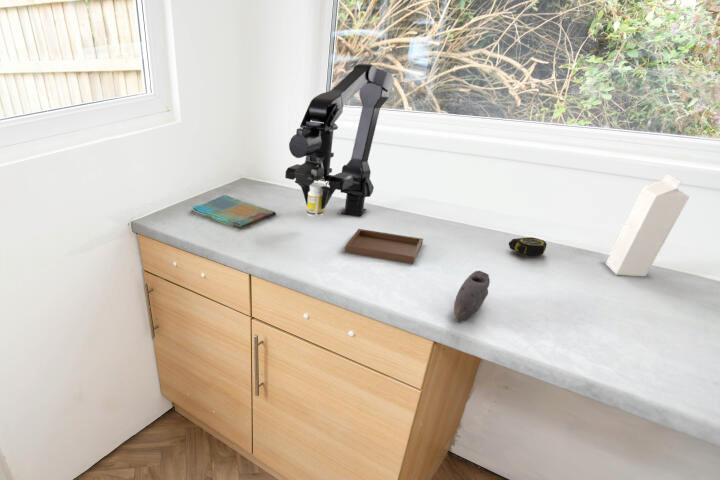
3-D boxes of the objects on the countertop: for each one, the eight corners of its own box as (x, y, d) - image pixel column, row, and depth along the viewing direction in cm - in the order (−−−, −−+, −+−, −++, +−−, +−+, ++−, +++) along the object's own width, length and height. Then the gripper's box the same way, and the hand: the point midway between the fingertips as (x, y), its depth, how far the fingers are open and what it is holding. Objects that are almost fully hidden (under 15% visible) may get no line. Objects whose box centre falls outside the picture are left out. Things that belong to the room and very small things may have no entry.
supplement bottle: (322, 210, 138) (325, 181, 133) (324, 216, 134) (327, 187, 129) (305, 211, 138) (308, 182, 133) (307, 216, 134) (309, 187, 130)
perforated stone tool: (468, 331, 95) (478, 302, 91) (441, 323, 98) (449, 294, 94) (487, 300, 104) (497, 272, 100) (462, 294, 107) (471, 266, 103)
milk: (615, 275, 111) (663, 181, 98) (605, 263, 116) (649, 172, 103) (646, 276, 110) (698, 181, 97) (634, 265, 115) (682, 173, 102)
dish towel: (226, 200, 167) (225, 193, 165) (277, 215, 152) (277, 208, 151) (189, 213, 157) (189, 206, 156) (240, 231, 143) (240, 223, 141)
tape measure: (531, 247, 125) (536, 234, 123) (548, 258, 119) (554, 245, 117) (506, 249, 125) (510, 236, 123) (522, 260, 119) (527, 247, 117)
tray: (357, 235, 137) (358, 228, 135) (421, 245, 129) (423, 238, 128) (344, 252, 128) (345, 245, 127) (412, 264, 120) (414, 256, 119)
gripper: (274, 151, 127) (272, 207, 136) (334, 162, 116) (327, 222, 125) (298, 143, 133) (295, 197, 142) (357, 152, 122) (350, 211, 131)
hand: (315, 206), depth 135 cm, fingers closed on supplement bottle, 5 cm apart
